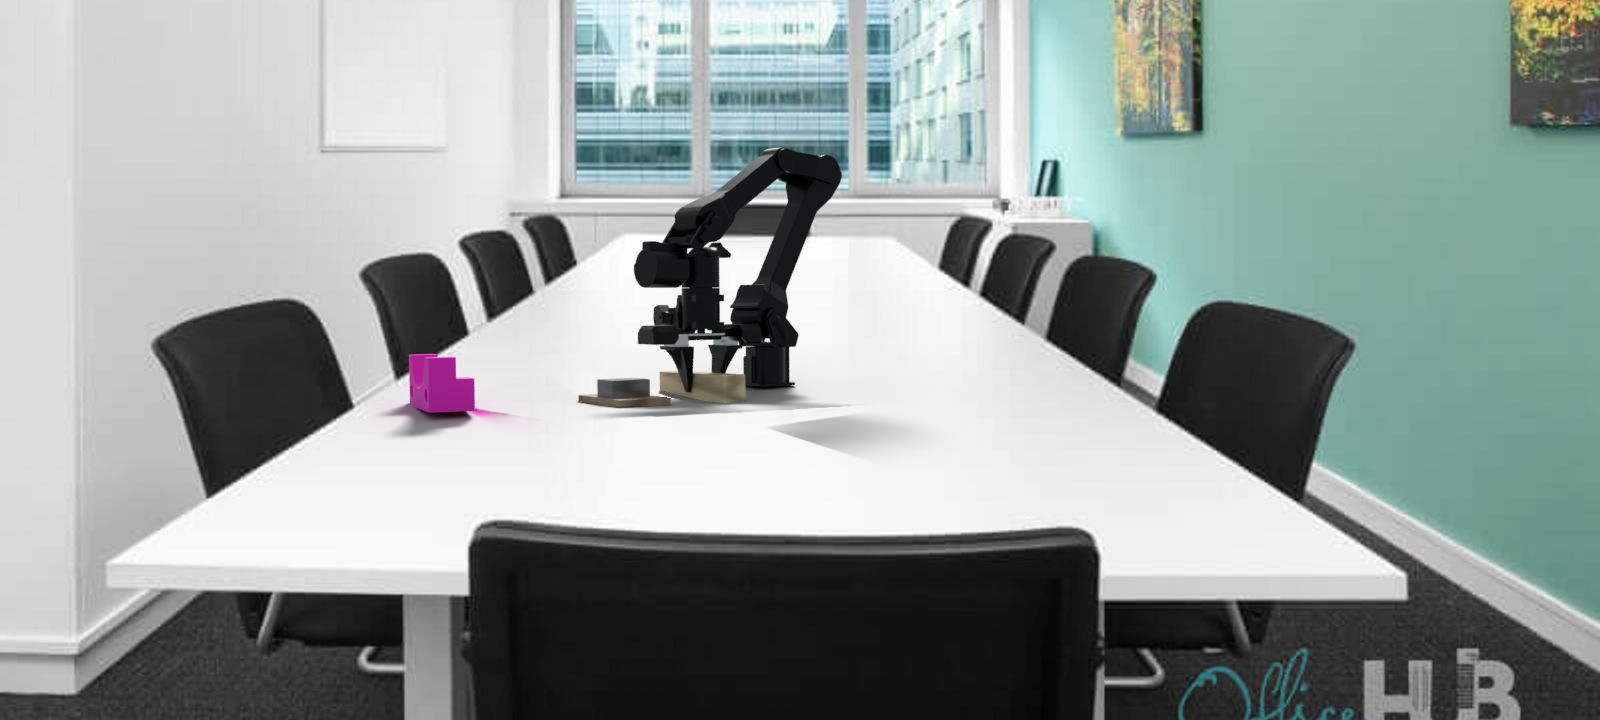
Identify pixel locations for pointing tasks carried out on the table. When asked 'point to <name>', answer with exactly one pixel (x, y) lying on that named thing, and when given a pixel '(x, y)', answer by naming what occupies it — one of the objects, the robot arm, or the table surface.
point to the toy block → (439, 385)
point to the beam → (707, 386)
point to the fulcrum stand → (624, 393)
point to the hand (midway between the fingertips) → (701, 391)
